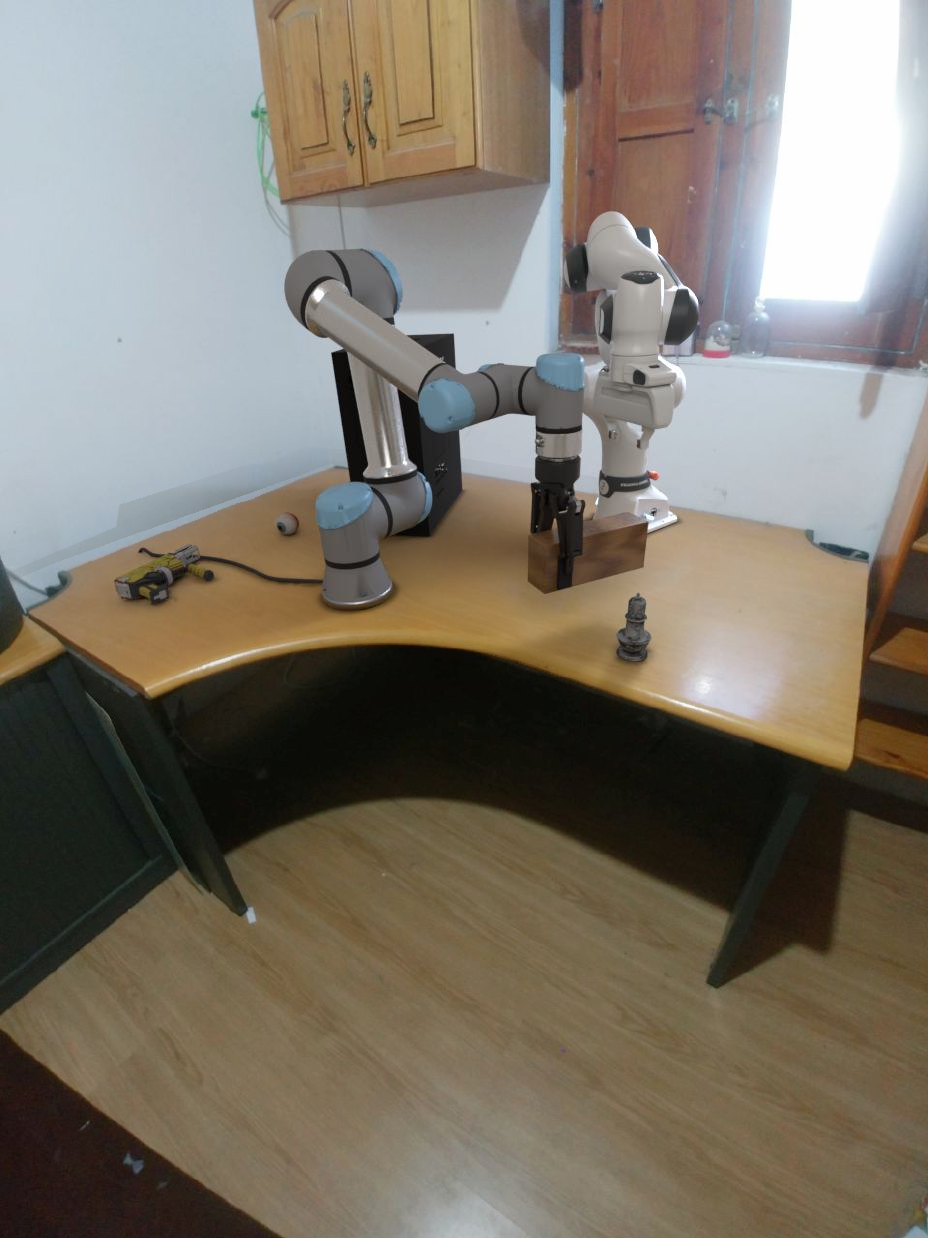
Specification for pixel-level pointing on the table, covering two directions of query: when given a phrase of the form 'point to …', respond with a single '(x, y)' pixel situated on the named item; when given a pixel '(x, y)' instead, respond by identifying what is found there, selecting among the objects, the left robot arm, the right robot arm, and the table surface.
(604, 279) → the right robot arm
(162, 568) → the toy gun
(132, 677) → the table surface
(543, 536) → the box
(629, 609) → the grey chess piece
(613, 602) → the table surface
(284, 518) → the eyeball
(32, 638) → the table surface
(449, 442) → the black computer tower
